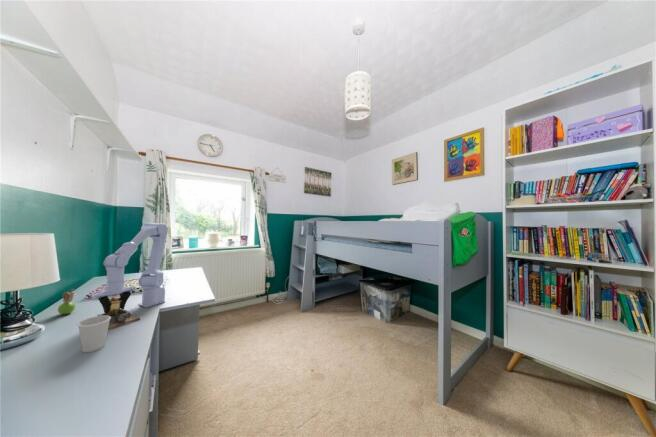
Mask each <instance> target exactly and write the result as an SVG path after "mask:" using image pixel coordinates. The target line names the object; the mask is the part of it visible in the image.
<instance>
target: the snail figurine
mask: <svg viewBox="0 0 656 437" xmlns="http://www.w3.org/2000/svg"><path fill="white" fill-rule="evenodd" d="M74 294H75V288H73V289H70V292H69V291H64V292H63V294H62V302H63V303H62V304H60V305H59V306H58V307H57V312H58V313H59V315H68V314H70V313H72V312H74V311H75V309H76V305H75V303H74V302H72V301H73V299H74Z"/></svg>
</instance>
